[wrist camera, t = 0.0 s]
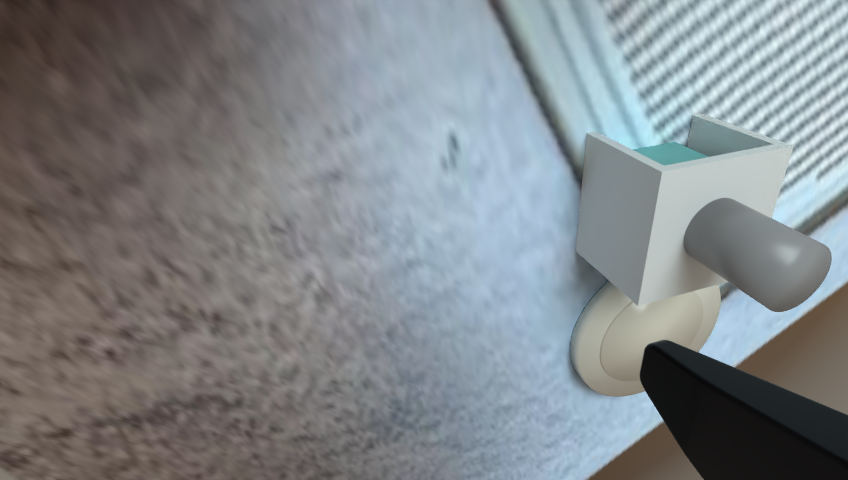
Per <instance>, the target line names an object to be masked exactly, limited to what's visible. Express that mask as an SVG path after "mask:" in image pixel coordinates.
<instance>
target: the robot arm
mask: <svg viewBox="0 0 848 480" xmlns="http://www.w3.org/2000/svg"><path fill="white" fill-rule="evenodd" d="M640 381H641V384H642V386H643V388H644V390H645V391H646V393H647V394H648V396H649V398H650V399H651V401H652V402H653V404H654V406H655V407H656V409H657V411H658V412H659V414H660V415H661V417H662V419H663V420H664V422H665V423H666V425H667V426H668V428H669V430H670V431H671V433H672V435H673V436H674V438H675V440H676V441H677V443H678V444H679V446H680V447H681V449H682V450H683V452H684V453H685V455H686V456H687V458H688V459H689V460H690V462H691V463H692V464H693V466H694V467H695V468H696V470H697V471H698V472H699V474H700V475H701V476H702V478H703V479H704V480H848V415H846V414H844V413H842V412H839V411H837V410H834V409H832V408H829V407H827V406H825V405H823V404H820V403H818V402H815V401H813V400H811V399H808V398H805V397H803V396H801V395H799V394H796V393H794V392H791V391H789V390H787V389H784V388H782V387H779V386H777V385H775V384H772V383H770V382H768V381H765V380H763V379H760V378H758V377H756V376H753V375H751V374H748V373H746V372H744V371H741V370H739V369H736V368H734V367H732V366H729V365H727V364H725V363H722V362H720V361H717V360H715V359H713V358H710V357H708V356H705V355H703V354H701V353H698V352H696V351H693V350H691V349H689V348H686V347H684V346H682V345H679V344H677V343H674V342H672V341H669V340H660V341H657V342H653V343H650V344H648V345H647V346H646V347H645V349H644V354H643V359H642V364H641V369H640Z"/></svg>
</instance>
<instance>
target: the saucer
mask: <svg viewBox="0 0 848 480" xmlns="http://www.w3.org/2000/svg"><path fill="white" fill-rule="evenodd" d="M720 302H721V297H720V290H719V286H718V285H715V286H711V287H707V288H703V289H700V290H696V291H692V292H688V293H685V294H681V295H677V296H673V297H670V298H666V299H662V300H658V301H654V302H651V303H647V304H643V305H639V306H637V305H636V304H635V303H634V302H633V301H632V300H631V299H629V298H628V297H627V296H626V295H625V294H624V293H623V292H622V291H620V290H619V289H618V288H617V287H616V286H615V285H614V284H612V283H611V282H610V281H608V282H607V283H606V284H605V285H604V286H603V287H602V288H601V289H600V290H599V291H598V292H597V293H596V294H595V295H594V296H593V298H592V299H591V300H590V301H589V303H588V304H587V305H586V307H585V308H584V310H583V311H582V313H581V315H580V317H579V319H578V321H577V323H576V325H575V328H574V331H573V334H572V339H571V344H570V354H571V360H572V363H573V366H574V368H575V370H576V371H577V373H578V374H579V375H580V376H581V378H582V379H583V380H584V381H585V383H586V384H587V385H588V386H589V387H590V388H591V389H593V390H594V391H596V392H598V393H600V394H603V395H607V396H615V397H617V396H628V395H633V394H637V393H641V392H643V391H645V390H644V388H643V386H642V384H641V381H640V369H641V364H642V359H643V354H644V349H645V347H646V346H647V345H648V344H650V343H653V342H657V341H660V340H669V341H672V342H674V343H677V344H679V345H682V346H684V347H686V348H689V349H691V350H693V351H696V352H699V350H700V349H701V348H702V347H703V345H704V344H705V342H706V341H707V339H708V337H709V336H710V334H711V332H712V330H713V328H714V326H715V324H716V321H717V318H718V315H719V310H720Z"/></svg>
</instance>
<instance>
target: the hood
mask: <svg viewBox="0 0 848 480" xmlns="http://www.w3.org/2000/svg"><path fill="white" fill-rule="evenodd" d="M686 147H688V148H690V149H692V150H694V151H697V152H699V153H701V154H704V155H706V156H708V157H706V158H701V159H696V160H691V161H686V162H681V163H676V164H671V165H666V166H664V165H662V164H660V163H658V162H656V161H654V160H652V159H650V158H648V157H646V156H644V155H642V154H640V153H638V152H636V151H634V150H632V149H630V148H628V147H626V146H624V145H622V144H620V143H618V142H616V141H614V140H612V139H610V138H608V137H606V136H604V135H602V134H600V133H598V132H591V133H587V139H586V149H585V159H584V169H583V178H582V188H581V198H580V208H579V218H578V228H577V238H576V248H575V251H576V252H577V253H579V254H580V255H581V256H582V257H583V258H584V259H585V260H586V261H588V262H589V263H590V264H591V265H592V266H593V267H594V268H595V269H597V270H598V271H599V272H600V273H601V274H602V275H603V276H605V277H606V278H607V279H608V280H609V281H610V282H611V283H612V284H614V285H615V286H616V287H617V288H618V289H619V290H620V291H622V292H623V293H624V294H625V295H626V296H627V297H628V298H629V299H631V300H632V301H633V302H634V303H635V304H636V305H637V306H639V305H643V304H647V303H651V302H654V301H658V300H662V299H666V298H670V297H673V296H677V295H681V294H685V293H688V292H692V291H696V290H700V289H703V288H707V287H711V286H715V285H718V284H722V283H726V282H729V283H731V284H732V285H734V286H735V287H737V288H738V289H740V290H741V291H743V292H744V293H746V294H747V295H749V296H750V297H752V298H753V299H755V300H756V301H758V302H759V303H761V304H762V305H764V306H765V307H767V308H768V309H770V310H771V311H774V312H783V311H787V310H790V309H792V308H794V307H796V306H798V305H800V304H801V303H803V302H804V301H805V300H807V299H808V298H809V297H810V296H811V295H812V294H813V293H814V292H815V291H816V290H817V289H818V288H819V286H820V285H821V284H822V282H823V281H824V279H825V277H826V275H827V273H828V271H829V268H830V265H831V259H832V258H831V252H830V250H829V248H828V247H827V246H825V245H824V244H822V243H820V242H818V241H816V240H814V239H812V238H810V237H808V236H806V235H804V234H802V233H800V232H798V231H796V230H794V229H792V228H790V227H788V226H786V225H784V224H782V223H780V222H778V221H776V220H774V219H772V214H773V211H774V208H775V205H776V201H777V198H778V195H779V192H780V188H781V185H782V182H783V179H784V175H785V172H786V169H787V166H788V162H789V159H790V156H791V153H792V149H793V146H792V145H789V144H786V143H783V142H781V141H778V140H775V139H772V138H769V137H766V136H763V135H761V134H758V133H755V132H752V131H749V130H746V129H743V128H741V127H738V126H735V125H732V124H729V123H726V122H724V121H721V120H718V119H715V118H712V117H709V116H706V115H704V114H696V115H693V117H692V122H691V127H690V132H689V136H688V141H687V146H686Z"/></svg>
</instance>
